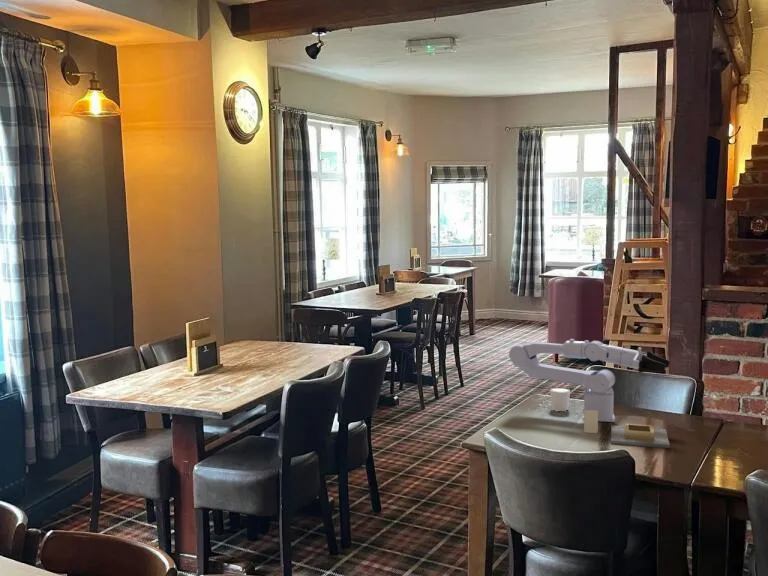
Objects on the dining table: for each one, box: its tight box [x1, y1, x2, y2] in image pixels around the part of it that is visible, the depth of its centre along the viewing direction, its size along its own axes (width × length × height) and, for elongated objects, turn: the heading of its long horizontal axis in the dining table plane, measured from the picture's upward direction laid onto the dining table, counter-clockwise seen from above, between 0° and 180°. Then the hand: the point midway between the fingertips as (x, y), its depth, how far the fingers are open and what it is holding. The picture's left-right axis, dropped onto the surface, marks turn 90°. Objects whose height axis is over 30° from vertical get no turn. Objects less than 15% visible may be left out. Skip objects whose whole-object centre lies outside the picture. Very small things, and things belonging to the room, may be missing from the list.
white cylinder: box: [549, 387, 571, 412], centre depth 250 cm, size 7×7×7 cm
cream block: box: [583, 410, 599, 434], centre depth 225 cm, size 4×4×6 cm
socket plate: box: [610, 423, 671, 449], centre depth 217 cm, size 16×16×3 cm
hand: (667, 366), depth 226 cm, fingers open, 7 cm apart
